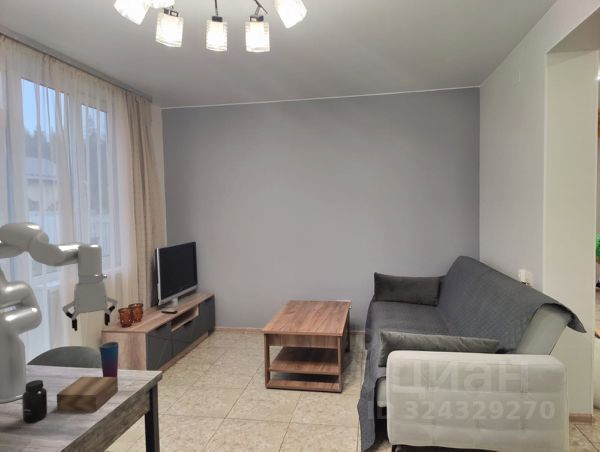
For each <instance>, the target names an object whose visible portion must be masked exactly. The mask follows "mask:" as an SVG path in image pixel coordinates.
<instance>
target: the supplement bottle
mask: <svg viewBox="0 0 600 452" xmlns="http://www.w3.org/2000/svg"><path fill="white" fill-rule="evenodd" d="M25 391H26V392H25V393H24V394H23V396H22V398H21V402H22V403H21V407H22V421H23V423H26V424H34V423H37V422H40V421H42V420H44V419H45V418H47V416H48V391H47V389H46V388H44V381H43V380H41V379H36V380H31V381H29V382H27V384H26V389H25Z"/></svg>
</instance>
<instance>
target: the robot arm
mask: <svg viewBox="0 0 600 452" xmlns="http://www.w3.org/2000/svg"><path fill="white" fill-rule="evenodd" d="M25 252H27V253H28V254H29V255H30V257H31V258H32V260H33V261H35V262H37V263H40V264H43V265H45V266H49V267H55V268H56V267H57V268H58V267H63V266H64V267H65V266H69V265H70V266H71V265H75V264H77V283H75V285H74V290H73V300H72V301H70V302H69V303H68V304H66V305H64V306H61V307H62V308H61V309H62V311H63V312H64V314H65V316H67V317H68V318H69V319H71V329H73V330H74V332H78V319H77V317H79V315H80V314H86V313H88V314H89V313H92V312H93V313H96V312H99V311H100V312H101V311H103V312H104V315H103V317H104V321H103V322H104V325H105V326H107V327H109V323H110V322H111V314H112V313H113V311H115V309H116V307H117V305H118V303H119V301H118V300H117V299H115V298H111V297H108V295H107V288H106V284H105V283H106V282H105V281H104V279H107V278H108V276H107V275H108V274H104V273H103V250H102V246H101V245H100V244H98V243H84V242H67V243H59V244H55V243H54V244H53V243H50V238H49V235H48V234H47V233H46V232H45V231H44V230H43V228H42V226H40V225H39V224H38V223H36V222H32V221H30V222H29V221H26V222H25V221H23V222H8V223H6V224H2V225H1V226H0V260H2V259H10V258H15V257H18V256H20V255H22V254H23V253H25ZM108 303H112V304H111V305H110V307H109V308H108ZM12 307H13V308H15V309H11V310H7V311H3V312H1V313H0V404H3V403H8V402H9V403H10V402H13V401H17V400H20V399H22V396H23V394H24V393H25V392H26V391H25V389H26V384H27V383H28V382H27V364H26V363H27V361H26V360H27V359H26V346H25V343H24V341H23V340H22V339H21V338H20V337H19V335H22V334H23V333H26V332H29V331H33V330H35V329H36V328H38V327H39V326H40V325H41V324H42V323H43V322H42V321H43V314H42V311H41V309H40V308H41V307H40V305H39V302H38V299H37V298H36V295H35V292H34V290H33V288H32V286H31V285H30V284H29V283H27V281H24V280H13V281H8V279H7V278H6V276H5V272H4V271H3V269H2V268H1V267H0V310H4V309H9V308H12ZM72 307H73V312H70V311H69V309H71V308H72Z"/></svg>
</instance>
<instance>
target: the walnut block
mask: <svg viewBox="0 0 600 452" xmlns="http://www.w3.org/2000/svg"><path fill="white" fill-rule="evenodd" d="M118 381H119V380H118V376H117V377H103V376H80V378H78V379H76V380H75V381H74V382H72V383H71V384H69V385H68V386H66V387H65V388H64V389H62V390H61V391H59V392H58V393H57V394H56V410H57V411H63V412H65V411H66V412H68V411H69V412H70V411H71V412H73V411H74V412H97V411H99V410H100V409H101V408H102V407H103V406H104V405H105V404H106V403H108V402H109V400H111V398H113V397H114V396H115V395H116V394H118V393H119V387H118V386H119V383H118Z"/></svg>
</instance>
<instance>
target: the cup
mask: <svg viewBox="0 0 600 452" xmlns="http://www.w3.org/2000/svg"><path fill="white" fill-rule="evenodd" d="M119 343H120V342H118V341H107V342H103V343H101V344H100V345H99V350H100V361H101V370H102V371H101V372H102V377H117V378H118V373H119V372H118V369H119V368H118V367H119Z"/></svg>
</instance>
